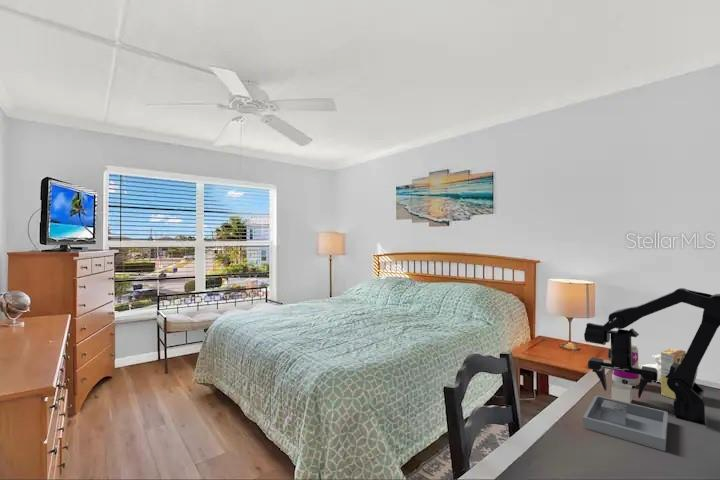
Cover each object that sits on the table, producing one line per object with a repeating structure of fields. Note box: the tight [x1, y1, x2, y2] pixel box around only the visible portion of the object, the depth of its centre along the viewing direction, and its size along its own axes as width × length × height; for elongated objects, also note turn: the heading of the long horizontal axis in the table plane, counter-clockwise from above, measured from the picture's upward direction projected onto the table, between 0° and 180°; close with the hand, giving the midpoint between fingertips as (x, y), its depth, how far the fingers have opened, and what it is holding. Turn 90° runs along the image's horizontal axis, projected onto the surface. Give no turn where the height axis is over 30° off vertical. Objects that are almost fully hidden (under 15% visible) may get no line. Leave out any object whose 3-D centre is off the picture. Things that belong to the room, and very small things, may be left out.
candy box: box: [660, 347, 687, 400], centre depth 125 cm, size 9×4×15 cm, turn 119°
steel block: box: [601, 400, 628, 426], centre depth 107 cm, size 6×6×4 cm
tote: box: [582, 395, 669, 452], centre depth 104 cm, size 18×20×4 cm
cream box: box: [610, 381, 633, 404], centre depth 121 cm, size 5×6×5 cm
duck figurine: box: [640, 353, 661, 384], centre depth 138 cm, size 12×8×11 cm
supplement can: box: [611, 342, 640, 387], centre depth 136 cm, size 8×8×15 cm
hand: (622, 394), depth 121 cm, fingers open, 9 cm apart
